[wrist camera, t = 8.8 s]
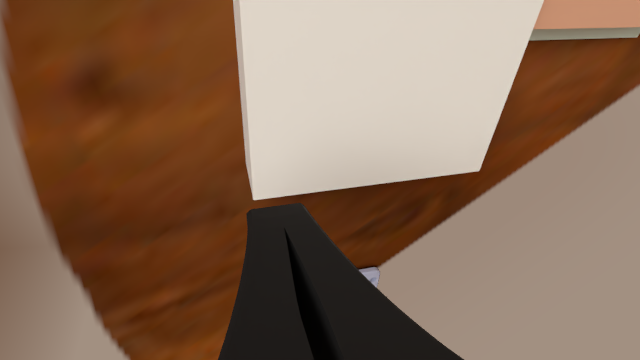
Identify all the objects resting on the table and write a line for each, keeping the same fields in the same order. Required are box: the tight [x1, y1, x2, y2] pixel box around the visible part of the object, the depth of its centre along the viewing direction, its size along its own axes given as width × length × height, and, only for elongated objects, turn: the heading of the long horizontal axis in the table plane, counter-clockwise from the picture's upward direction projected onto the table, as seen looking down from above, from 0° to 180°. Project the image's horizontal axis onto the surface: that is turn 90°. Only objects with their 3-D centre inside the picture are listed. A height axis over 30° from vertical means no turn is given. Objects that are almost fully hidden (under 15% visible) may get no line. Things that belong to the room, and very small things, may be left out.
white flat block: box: [233, 0, 544, 200], centre depth 15 cm, size 14×12×3 cm
